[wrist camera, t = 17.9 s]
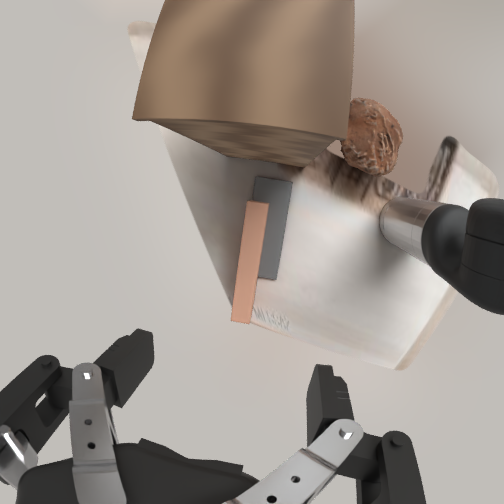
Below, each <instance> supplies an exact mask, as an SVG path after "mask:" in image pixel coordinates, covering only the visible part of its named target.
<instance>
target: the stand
mask: <svg viewBox="0 0 504 504" xmlns="http://www.w3.org/2000/svg"><path fill="white" fill-rule="evenodd" d="M353 54H354V0H165V2H164V4H163V7H162V10H161V12H160V15H159V18H158V21H157V24H156V27H155V30H154V33H153V36H152V39H151V42H150V46H149V49H148V53H147V56H146V60H145V63H144V67H143V71H142V75H141V79H140V83H139V87H138V92H137V96H136V101H135V106H134V111H133V116H132V119H133V120H136V121H152V122H154V123H156V124H159V125H161V126H163V127H166V128H168V129H170V130H172V131H175V132H177V133H179V134H181V135H183V136H186V137H188V138H190V139H192V140H194V141H196V142H198V143H200V144H203V145H205V146H207V147H209V148H211V149H213V150H215V151H217V152H219V153H221V154H223V155H225V156H227V157H236V158H245V159H253V160H260V161H267V162H274V163H281V164H287V165H293V166H299V167H306V166H307V165H308V164H309V163H310V162H311V161H312V160H313V159H315V158H316V157H317V156H318V155H319V154H320V153H321V152H322V151H323V150H325V149H326V148H327V147H328V146H329V145H330V144H331V143H332V142H334V141H335V140H341V141H345V140H346V138H347V129H348V120H349V110H350V99H351V86H352V72H353Z"/></svg>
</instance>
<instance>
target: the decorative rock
mask: <svg viewBox="0 0 504 504" xmlns="http://www.w3.org/2000/svg"><path fill="white" fill-rule="evenodd" d="M402 139H403V133H402V130H401V128H400V124H399V123H398V121H397V120H396V119H395V118H394V117H393V116H392V115H391V114H390V112H389V111H388V110H387V109H386V108H385V107H384V106H383V105H382V104H380V103H378V102H376V101H374V100H371V99H363V98H354V99H353V100H352V101H351V102H350V110H349V120H348V129H347V138H346V140H345V141H341V140H340V142H341V145H342V147H341V151H342V153H343V155H344V157H345V160H346V161H347V163H348V165H350V166H353V167H356V168H358V169H360V170H362V171H364V172H366V173H368V174H370V175H373V176H376V177H378V176H381V175H385V174H387V173H390V172H391V171H392V170H393V168H394V166H395V165H396V161H397V157H398V154H397V153H398V149H399V146H400V144H401V143H402Z"/></svg>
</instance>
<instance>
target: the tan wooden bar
mask: <svg viewBox="0 0 504 504" xmlns="http://www.w3.org/2000/svg"><path fill="white" fill-rule="evenodd" d="M268 208H269V203H265V202H259V201H252V200H249V201H247V205H246V212H245V219H244V226H243V233H242V240H241V247H240V255H239V262H238V269H237V277H236V284H235V291H234V299H233V306H232V315H231V321H235V322H241V323H246V324H249V323H250V319H251V315H252V309H253V303H254V296H255V290H256V284H257V278H258V272H259V265H260V259H261V253H262V246H263V240H264V234H265V227H266V221H267V215H268Z"/></svg>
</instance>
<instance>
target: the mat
mask: <svg viewBox="0 0 504 504" xmlns="http://www.w3.org/2000/svg"><path fill="white" fill-rule="evenodd" d="M291 189H292V182H288V181H282V180H276V179H269V178H262V177H256V178H255V185H254V192H253V199H252V201H259V202H265V203H269V208H268V215H267V221H266V227H265V234H264V240H263V246H262V253H261V259H260V265H259V272H258V277H263V278H269V279H275V280H276V278H277V273H278V267H279V262H280V256H281V250H282V244H283V238H284V232H285V226H286V220H287V214H288V208H289V202H290V195H291Z"/></svg>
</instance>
